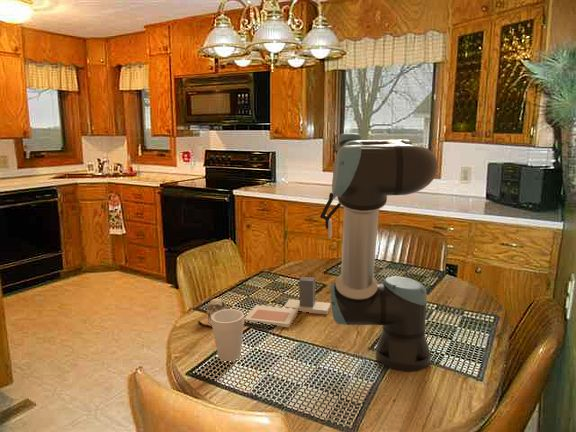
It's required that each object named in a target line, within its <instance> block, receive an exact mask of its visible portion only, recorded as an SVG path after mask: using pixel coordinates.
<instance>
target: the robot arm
mask: <svg viewBox="0 0 576 432" xmlns="http://www.w3.org/2000/svg"><path fill="white" fill-rule="evenodd" d="M438 170H439V169H438V160H437V157H436V155H435V154H434V153H433V152H432V151H431V150H430V149H428V148H427V147H424V146H422V145H416V144H415V145H414V144H413V143H412V141H411V140H409V139H403V138H402V139H401V138H400V139H380V140H379V139H378V140H377V139H372V140H371V139H370V140H369V139H367V140H364V139H363V140H362V135H361V134H360V133H341V134H339V139H338V150H337V152H336V155H335V159H334V163H333V170H332V181H331V182H332V183H331V192H330V193H329V196H328V200H327V201H326V204H325V206H324V208H323V210H322V212H321V214H320V219H323V220H324V221H325V222H324V223H325V229H326V230H328V231H327V233H328V239H331V238H332V237H333V235H332V234H333V231H332V230H333V227H332V226H333V223H332V222H333V220H332V218H331V217H332V216H333V215H334V214H335V213H336V211H338V209H339V208H340V207H341V206H342V207H343V215H342V217H343V218H342V221H343V222H342V243H341V244H342V245H341V246H342V248H341V249H342V250H341V270H340V271H341V273H340V274H339V275H338V276H337V278H336V280H335V282H332V283H330V285H329V289H330V290H329V292H330V293H329V295H330V303H331V311H332V318H333V321H334V322H335V324H337V325H344V326H382V331H381V334H380V337H379V338H378V342H377V344H376V347H375V357H376V359H377V361H378V362H379V363H380V364H382V365H384V366H385V367H387V368H389V369H392V370H396V371H400V372H417V371H420V370H424V369H425V368H427V367H429V365H430V362H431V352H430V348H429V345H428V341H427V338H426V322H427V321H426V317H427V305H428V298H427V295H428V294H427V288H426V287H425V285H423V284H422V283H421V282H419V281H417V280H415V279H412V278H409V277H404V276H399V275H392V276H387V277H385V278H384V280H383V282H382V283H379V282H378V281H377V278H376V277H375V276H374V272H375V271H374V270H375V261H376V260H375V259H376V250H377V249H376V248H377V239H378V229H379V218H380V217H379V215H380V209H382V208H383V207H385V206H386V204H387V202H388V201H387V199H388V196H406V195H412V194H415V193H417V192H420V191H422V190H423V189H425V188H426V187H428V186H429V185H430V184H431V183H432V182H433V181H434V179H435V178H436V176H437V173H438ZM336 198H337V201H338V203H337V204H336V205H335V206H334V207H333V209H331V211H330V212H329V213H328V214H327V212H328V210H329V208H330V207H331V204H332V202H333V200H334V199H336Z"/></svg>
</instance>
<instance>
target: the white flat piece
mask: <svg viewBox="0 0 576 432" xmlns="http://www.w3.org/2000/svg"><path fill="white" fill-rule="evenodd" d="M298 311H299V309H298V308H289V307H284V306H280V305H279V306H278V305H268V304H260V303H259V304H256V305H254V307H253V308H252V309H251V310H250V311H249V312H248V313H247V315H246V316H244V321H251V322H252V321H253V322H261V323H267V324H273V325H277V326H283V327H289V326H290V325H291V326H292V324H291V323H293V322H294V321H293V320H295V319H296V317H297V316H298V314H299V312H298ZM297 313H298V314H297ZM296 315H297V316H296ZM295 316H296V317H295ZM294 318H295V319H294ZM291 326H290V327H291ZM290 327H289V328H290Z"/></svg>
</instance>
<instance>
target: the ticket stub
mask: <svg viewBox="0 0 576 432" xmlns="http://www.w3.org/2000/svg"><path fill="white" fill-rule="evenodd" d="M298 282H299V283H298V284H299V299H292V298H289V299H288V300H287V302H286V303H285V305H284V306H283V307H289V308H298V309H299V311H302V312H301V313H306V312H309V313H308V314H318V315H326V316H327V315H328V314H329V313H330V310H331V308H332V304H331V302H324V301H323V302H322V301H316V277H314V276H313V277H312V276H311V277H310V276H301V277H300V279H299V281H298Z"/></svg>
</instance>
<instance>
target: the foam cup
mask: <svg viewBox="0 0 576 432" xmlns="http://www.w3.org/2000/svg"><path fill="white" fill-rule="evenodd" d="M244 319H245V315H244V312H242V311H241V310H240V309H239V310H238V309H234V308H227V309H225V310H220V311H217V312H215V313H213V315H212V316H211V323H212V326H211V328H212V332H213V335H214V342H215V346H216V351H217V357H218V360H219V359H220V360H222V361H234V360H236V359H238V358H239V357H240V358H241V354H242V353H241V352H242V343H243V333H244V324H245V323H244ZM240 358H239V359H240ZM239 359H238V360H239ZM220 360H219V361H220Z"/></svg>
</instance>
